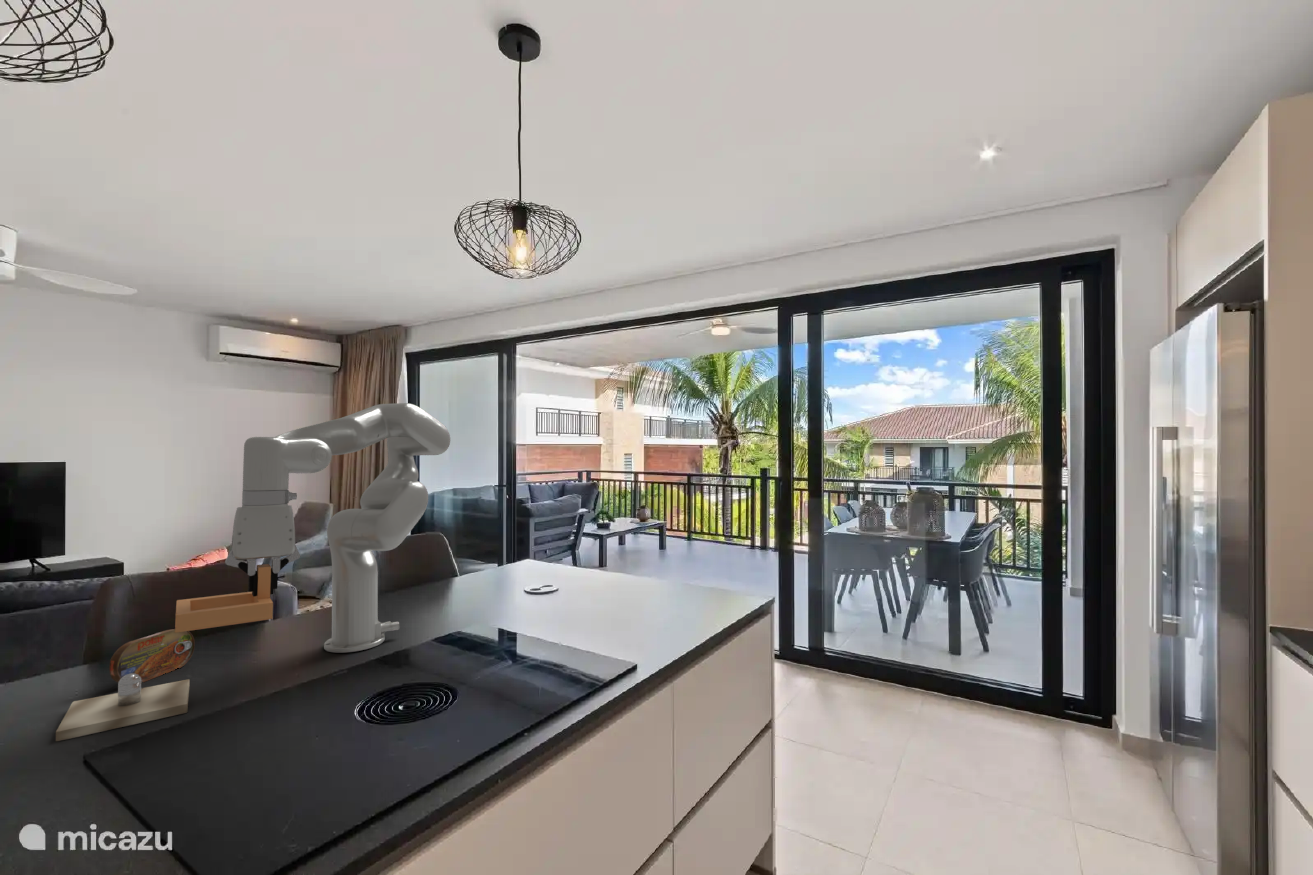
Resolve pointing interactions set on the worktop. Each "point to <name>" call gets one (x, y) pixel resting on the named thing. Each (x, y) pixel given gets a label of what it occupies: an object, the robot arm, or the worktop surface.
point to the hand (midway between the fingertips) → (262, 593)
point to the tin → (152, 655)
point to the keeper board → (123, 710)
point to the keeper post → (129, 690)
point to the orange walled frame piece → (227, 607)
